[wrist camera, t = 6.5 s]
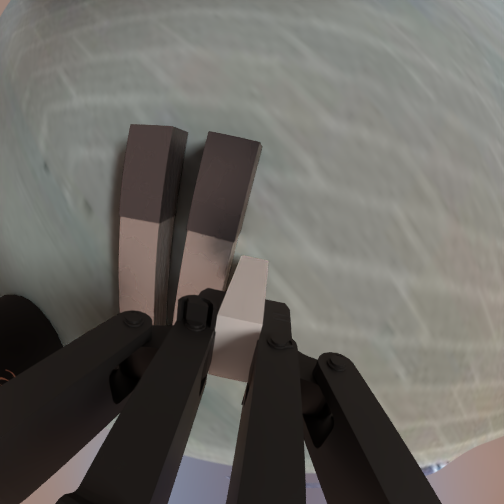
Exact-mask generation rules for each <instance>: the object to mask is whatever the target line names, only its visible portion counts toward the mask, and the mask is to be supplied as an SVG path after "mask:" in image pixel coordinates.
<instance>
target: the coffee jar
mask: <svg viewBox="0 0 504 504" xmlns="http://www.w3.org/2000/svg"><path fill="white" fill-rule="evenodd" d="M61 348H63V346H62V343H61V341H60V339H59V337H58V335H57V333H56V331H55V330H54V328H53V326H52V325H51V323H50V321H49V320H48V319H47V318H46V316H45V315H44V314H43V313H42V311H41V310H40V309H39V308H38V307H37V306H36V305H35V304H33V303H32V302H31V301H30V300H28V299H26V298H24V297H22V296H17V295H4V296H2V297H1V298H0V386H1V385H3V384H5V383H6V382H8V381H9V380H11V379H12V378H14V377H16V376H17V375H19V374H20V373H22V372H24V371H25V370H27V369H29V368H30V367H32V366H33V365H35V364H37V363H38V362H40V361H41V360H43V359H45V358H46V357H48V356H50V355H51V354H53V353H54V352H56V351H58V350H59V349H61Z"/></svg>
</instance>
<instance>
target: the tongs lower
mask: <svg viewBox="0 0 504 504" xmlns="http://www.w3.org/2000/svg"><path fill="white" fill-rule="evenodd" d="M187 137H188V132H186V131H183V130H181V129H178V128H176V127H173V126H159V125H137V124H130V130H129V136H128V142H127V148H126V154H125V162H124V169H123V177H122V187H121V197H120V209H119V216H121V218H120V237H119V305H120V313H122V312H124V311H130V310H135V311H140V312H143V313H146V314H147V315H149V316H150V317H151V319H152V320H153V321H152V325H160V326H166V320H167V299H168V283H169V269H170V257H171V246H172V236H173V227H174V218H175V216H176V208H177V200H178V193H179V186H180V179H181V172H182V166H183V160H184V154H185V148H186V143H187Z"/></svg>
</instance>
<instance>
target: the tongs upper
mask: <svg viewBox="0 0 504 504" xmlns="http://www.w3.org/2000/svg"><path fill="white" fill-rule="evenodd" d="M261 151H262V145H261V143H260V142H257V141H253V140H248V139H244V138H240V137H235V136H230V135H226V134H221V133H216V132H210V131H209V132H208V136H207V140H206V144H205V148H204V152H203V156H202V160H201V164H200V168H199V173H198V177H197V181H196V186H195V190H194V195H193V200H192V204H191V209H190V214H189V219H188V224H187V229H186V230H188V232H187V237H186V242H185V248H184V253H183V259H182V265H181V271H180V277H179V283H178V290H177V296H176V303H175V310H174V318H173V325H174V324H175V322H176V320H177V308H178V299H180V298H181V297H183V296H186V295H199V294H200V292H201V291H203V290H204V289H206V288H212V289H216V290H220V291H225V290H226V286H227V282H228V277H229V273H230V269H231V265H232V261H233V257H234V253H235V249H236V245H237V241H238V237H239V234H240V232H241V228H242V224H243V220H244V216H245V212H246V208H247V205H248V201H249V197H250V193H251V189H252V185H253V181H254V177H255V173H256V170H257V166H258V162H259V158H260V154H261Z"/></svg>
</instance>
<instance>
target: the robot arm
mask: <svg viewBox="0 0 504 504" xmlns="http://www.w3.org/2000/svg"><path fill="white" fill-rule="evenodd" d="M268 262H269V261H267V260H263V259H258V258H253V257H249V256H244V255H241V258H240V260H239V263H238V265H237V267H236V270H235V272H234V275H233V277H232V280H231V282H230V285H229V287H228V290H227V292H225V291H220V290H216V289H212V288H206V289H204V290H203V291H201V292H200V294H199V295H186V296H183V297H181V298H180V299H178V308H177V320H176V322H175V324H174V325H170V326H160V325H152V321H153V320H152V319H151V317H150V316H149V315H147V314H146V313H143V312H140V311H135V310H130V311H124V312H122V313H119V314H117V315H116V316H114V317H112V318H111V319H109V320H107V321H106V322H104V323H102V324H101V325H99V326H97V327H96V328H94V329H92V330H91V331H89V332H87V333H86V334H84V335H82V336H81V337H79V338H77V339H76V340H74V341H73V342H71V343H69V344H68V345H66V346H64V347H63V348H61V349H59V350H58V351H56V352H54V353H53V354H51V355H50V356H48V357H46V358H45V359H43V360H41V361H40V362H38V363H37V364H35V365H33V366H32V367H30V368H29V369H27V370H25V371H24V372H22V373H20V374H19V375H17V376H16V377H14V378H12V379H11V380H9V381H8V382H6V383H5V384H3V385H1V386H0V504H20V503H21V502H22V501H23V500H25V499H26V498H27V497H29V496H30V495H31V494H32V493H33V492H34V491H35V490H37V489H38V488H39V487H40V486H41V485H42V484H43V483H44V482H46V481H47V480H48V479H49V478H50V477H51V476H52V475H54V474H55V473H56V472H57V471H58V470H59V469H60V468H61V467H62V466H63V465H65V464H66V463H67V462H68V461H69V460H70V459H71V458H72V457H73V456H75V455H76V454H77V453H78V452H79V451H80V450H81V449H82V448H83V447H84V446H85V445H86V444H88V442H90V441H91V440H92V439H93V438H94V437H95V436H96V435H97V434H98V433H99V432H100V431H101V430H103V429H104V428H105V427H106V426H107V425H108V424H109V423H110V422H111V421H112V420H113V419H114V418H115V417H116V416H117V415H118V414H119V413H120V415H119V416H118V418H117V420H116V421H115V423H114V425H113V427H112V428H111V430H110V432H109V434H108V435H107V437H106V439H105V441H104V443H103V444H102V446H101V448H100V450H99V451H98V453H97V455H96V457H95V459H94V460H93V462H92V464H91V466H90V468H89V469H88V471H87V473H86V475H85V477H84V479H83V480H82V482H81V484H80V486H79V487H78V489H77V490H76V491H75V492H73V493H69V494H65V495H63V496H62V497H61V498H59V499H58V501H57V502H56V504H168V501H169V497H170V495H171V491H172V488H173V485H174V482H175V479H176V476H177V472H178V469H179V466H180V463H181V460H182V457H183V454H184V450H185V447H186V444H187V441H188V438H189V435H190V432H191V429H192V425H193V422H194V419H195V416H196V413H197V410H198V407H199V404H200V400H201V397H202V394H203V391H204V388H205V385H206V380H207V373H208V371H209V373H208V374H211V375H215V376H219V377H224V378H228V379H233V380H238V381H242V382H248V383H247V386H246V390H245V393H244V397H243V401H242V404H241V405H243V407H242V413H241V419H240V425H239V431H238V437H237V443H236V449H235V455H234V461H233V467H232V472H231V478H230V484H229V490H228V495H227V501H226V504H306V483H305V455H304V441H305V444H306V446H307V449H308V452H309V455H310V458H311V460H312V463H313V466H314V469H315V471H316V474H317V477H318V480H319V482H320V485H321V488H322V491H323V493H324V496H325V499H326V501H327V504H442V503H441V502H440V500H439V499H438V497H437V495H436V493H435V492H434V490H433V488H432V487H431V485H430V483H429V482H428V480H427V478H426V477H425V475H424V473H423V472H422V470H421V468H420V467H419V465H418V464H417V462H416V460H415V459H414V457H413V455H412V454H411V452H410V451H409V449H408V447H407V446H406V444H405V443H404V441H403V439H402V438H401V436H400V435H399V433H398V432H397V430H396V428H395V427H394V425H393V424H392V422H391V421H390V419H389V417H388V416H387V414H386V413H385V411H384V410H383V408H382V407H381V405H380V403H379V402H378V400H377V399H376V397H375V396H374V394H373V393H372V391H371V390H370V388H369V387H368V385H367V383H366V382H365V380H364V379H363V377H362V376H361V374H360V373H359V371H358V370H357V368H356V367H355V365H354V364H353V363H352V362H351V360H350V359H348V358H347V357H345V356H343V355H341V354H338V353H332V352H328V353H323V354H322V355H320V356H319V358H318V360H317V359H314V358H311V357H308V356H306V355H304V354H302V353H301V352H299V351H298V348H297V344H296V342H295V341H294V340H293V339H292V333H291V322H290V321H291V320H290V309H289V308H288V307H287V305H286V304H285V303H281V302H276V301H271V300H266V299H265V295H266V284H267V273H268Z"/></svg>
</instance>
